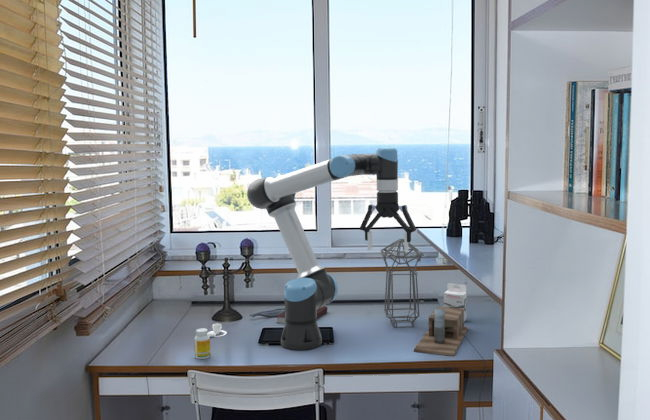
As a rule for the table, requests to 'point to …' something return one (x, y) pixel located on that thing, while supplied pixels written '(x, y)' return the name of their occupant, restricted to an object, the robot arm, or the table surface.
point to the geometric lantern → (401, 274)
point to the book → (320, 313)
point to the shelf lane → (451, 338)
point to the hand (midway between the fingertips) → (387, 250)
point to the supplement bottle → (202, 344)
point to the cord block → (441, 326)
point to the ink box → (456, 297)
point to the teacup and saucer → (216, 330)
